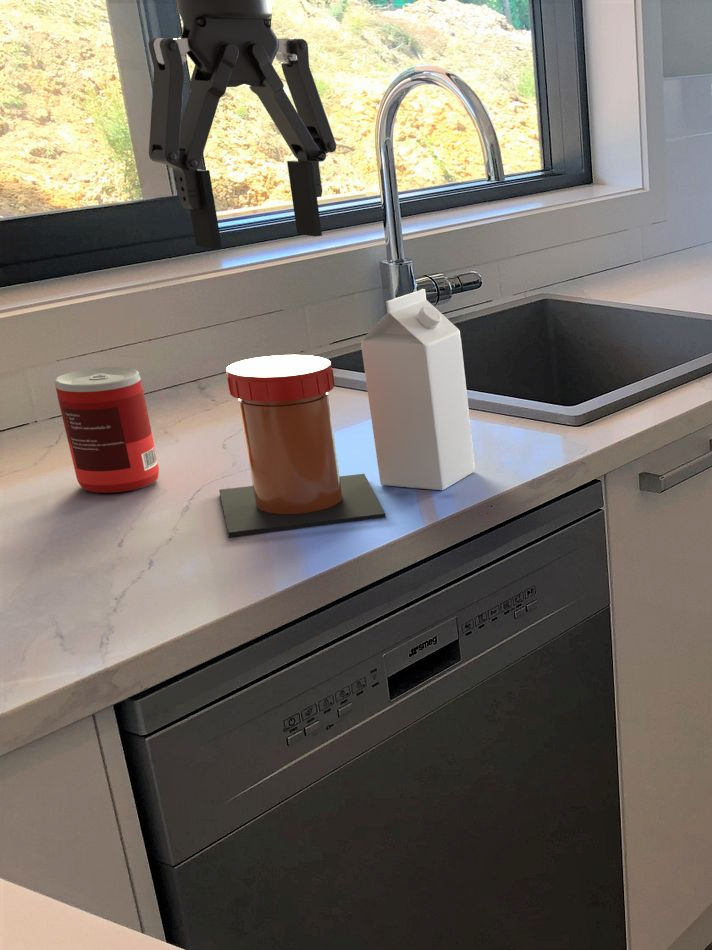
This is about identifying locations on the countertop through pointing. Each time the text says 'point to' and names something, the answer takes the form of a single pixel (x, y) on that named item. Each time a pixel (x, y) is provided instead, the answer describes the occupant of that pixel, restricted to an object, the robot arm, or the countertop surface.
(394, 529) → the countertop surface
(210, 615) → the countertop surface
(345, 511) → the mat
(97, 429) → the canned food
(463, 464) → the milk carton
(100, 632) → the countertop surface
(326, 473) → the jar
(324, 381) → the jar lid
